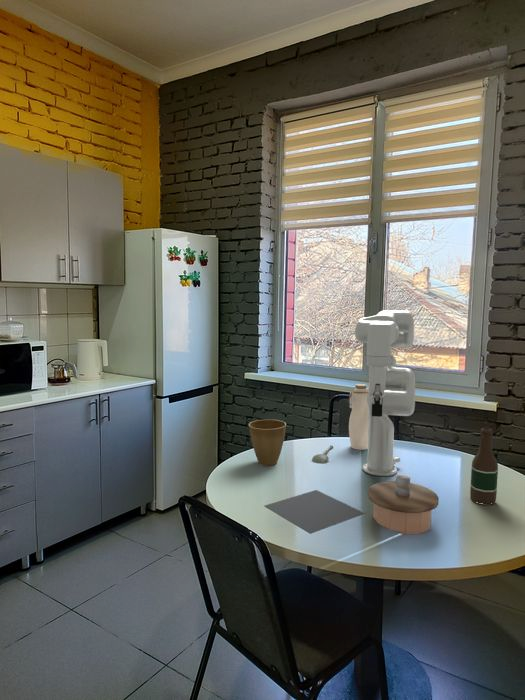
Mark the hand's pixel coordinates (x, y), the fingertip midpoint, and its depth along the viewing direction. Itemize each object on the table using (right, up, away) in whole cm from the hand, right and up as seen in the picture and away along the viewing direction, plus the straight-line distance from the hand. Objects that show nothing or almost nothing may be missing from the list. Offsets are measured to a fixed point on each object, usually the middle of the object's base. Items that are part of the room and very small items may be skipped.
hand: (377, 412), depth 157 cm
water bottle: (+5, -23, +56) cm, 60 cm away
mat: (-22, -29, -9) cm, 38 cm away
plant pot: (-36, -25, +35) cm, 56 cm away
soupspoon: (-11, -24, +45) cm, 52 cm away
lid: (+4, -23, -16) cm, 28 cm away
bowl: (+4, -30, -15) cm, 34 cm away
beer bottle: (+34, -29, 0) cm, 45 cm away
